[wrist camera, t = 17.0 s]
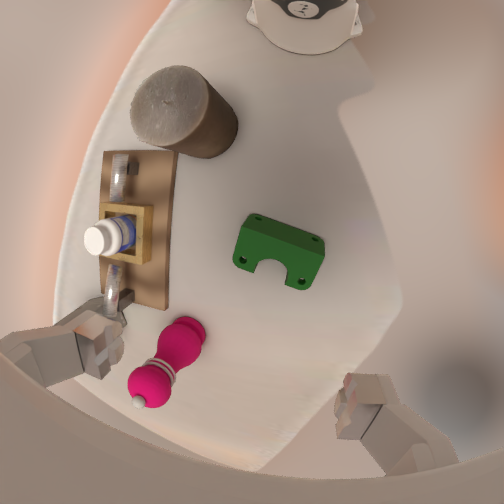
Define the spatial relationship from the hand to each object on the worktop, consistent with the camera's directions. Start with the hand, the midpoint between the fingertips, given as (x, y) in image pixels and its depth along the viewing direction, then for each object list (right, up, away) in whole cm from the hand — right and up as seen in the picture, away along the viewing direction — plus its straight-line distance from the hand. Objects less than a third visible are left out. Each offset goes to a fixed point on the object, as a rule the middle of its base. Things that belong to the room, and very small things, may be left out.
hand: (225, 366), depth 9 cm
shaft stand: (-19, +8, +34) cm, 40 cm away
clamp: (+5, +5, +32) cm, 33 cm away
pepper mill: (-10, -10, +38) cm, 40 cm away
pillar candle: (-6, +22, +29) cm, 37 cm away
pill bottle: (-19, +7, +33) cm, 39 cm away
